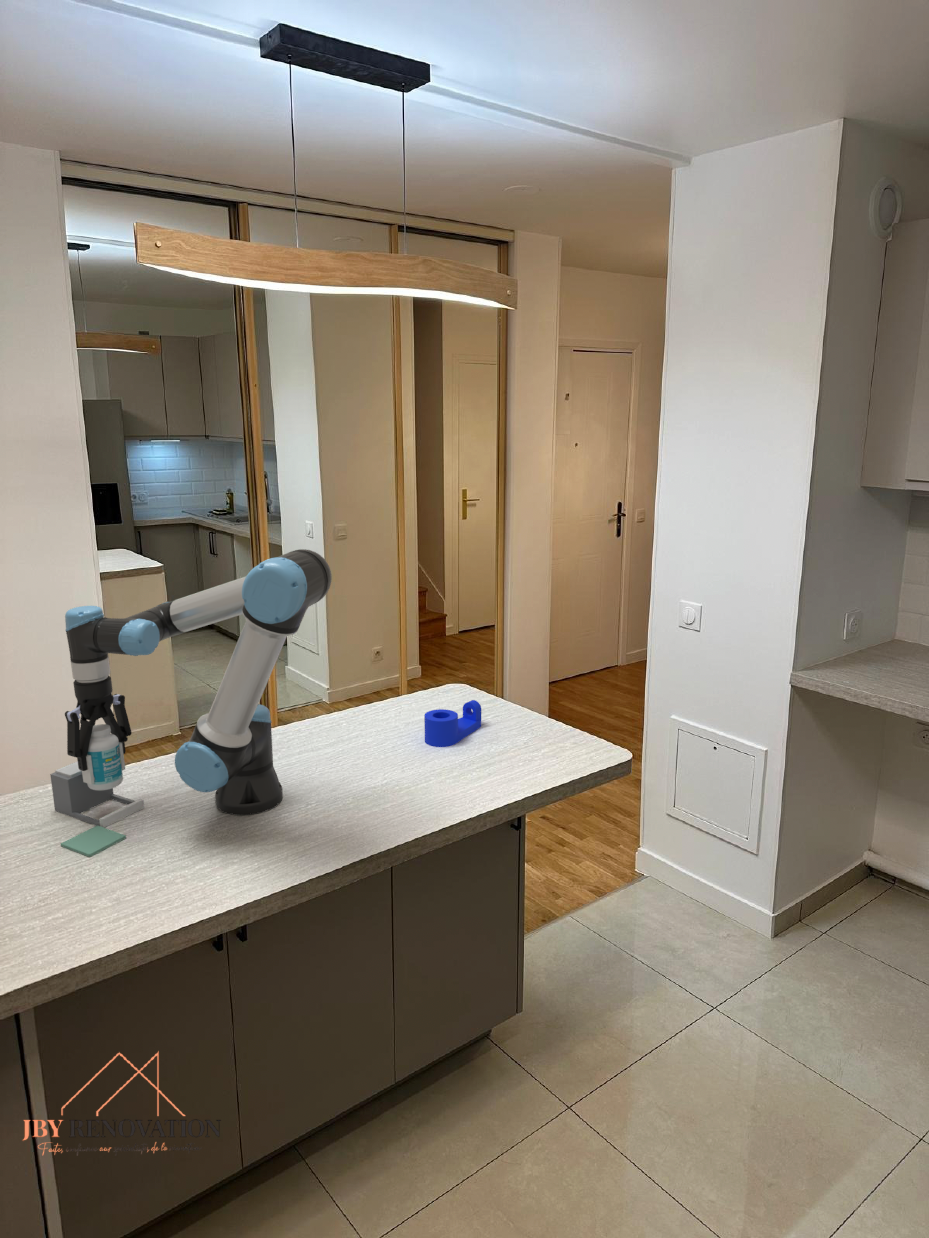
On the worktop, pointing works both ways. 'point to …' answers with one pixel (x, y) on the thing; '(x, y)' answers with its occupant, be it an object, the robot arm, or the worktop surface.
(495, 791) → the worktop surface
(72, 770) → the grey open frame
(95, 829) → the mat
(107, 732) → the pill bottle
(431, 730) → the bracket
